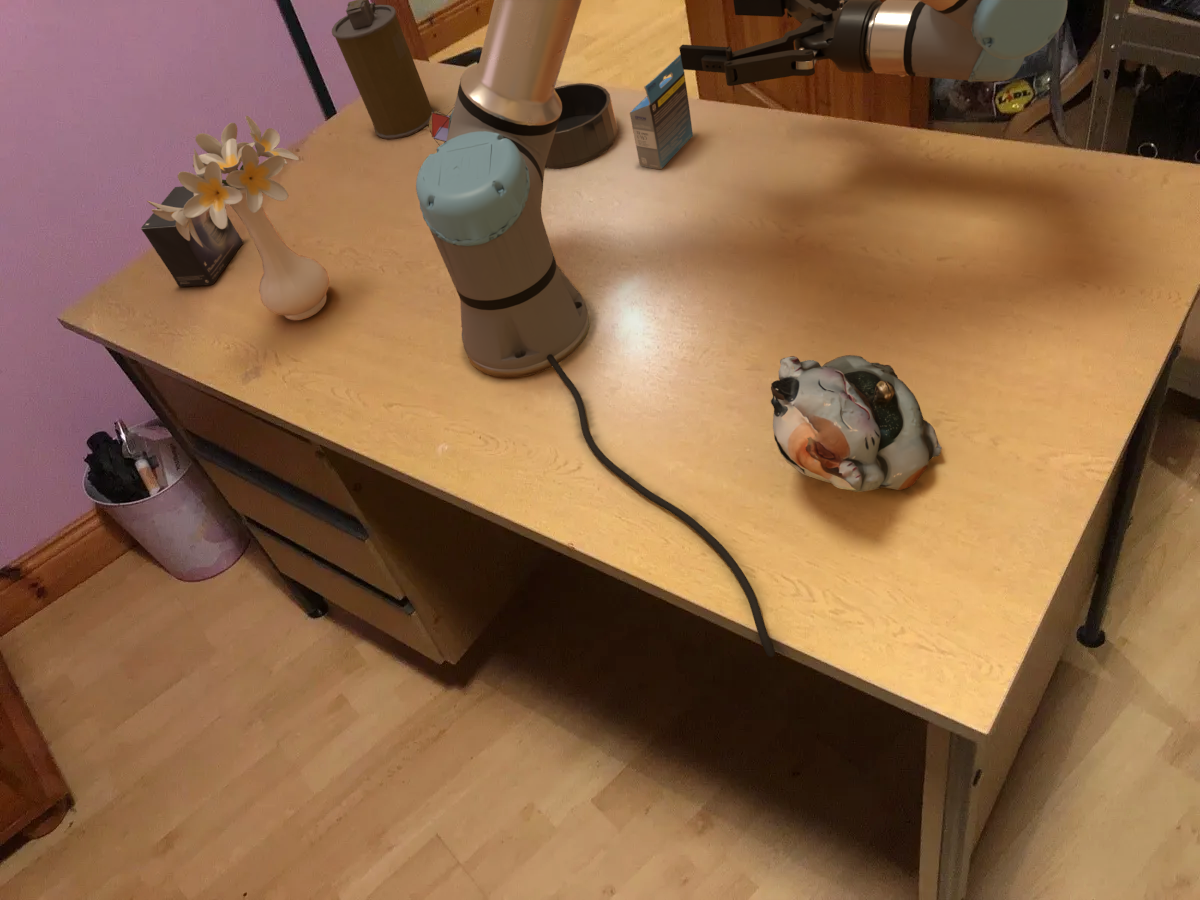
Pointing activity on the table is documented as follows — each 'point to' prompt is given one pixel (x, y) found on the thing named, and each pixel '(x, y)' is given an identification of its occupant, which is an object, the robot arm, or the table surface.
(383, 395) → the table surface
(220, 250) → the small box
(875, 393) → the lucky cat figurine
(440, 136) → the geometric puzzle
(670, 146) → the label tape box
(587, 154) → the round brown bowl
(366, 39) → the canister
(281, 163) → the flower vase
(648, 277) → the table surface
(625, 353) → the table surface
